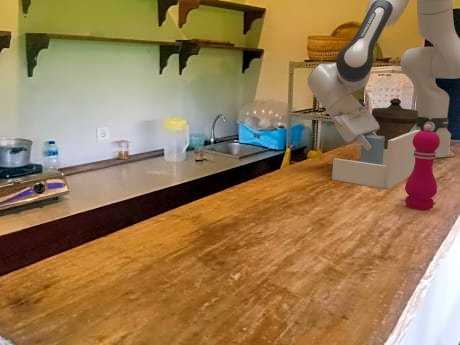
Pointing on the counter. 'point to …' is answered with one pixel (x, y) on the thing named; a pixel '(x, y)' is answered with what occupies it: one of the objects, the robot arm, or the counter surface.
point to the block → (373, 150)
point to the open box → (382, 176)
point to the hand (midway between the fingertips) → (374, 147)
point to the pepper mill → (423, 170)
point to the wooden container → (394, 120)
